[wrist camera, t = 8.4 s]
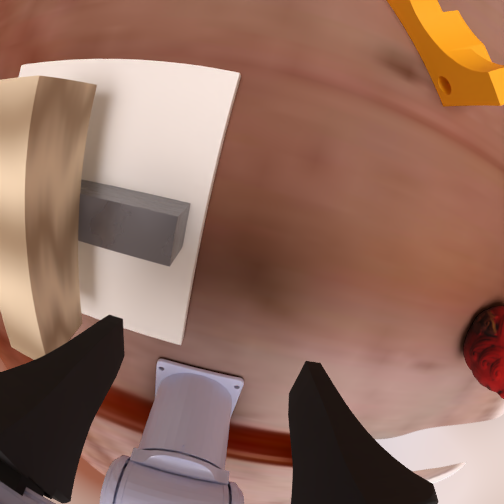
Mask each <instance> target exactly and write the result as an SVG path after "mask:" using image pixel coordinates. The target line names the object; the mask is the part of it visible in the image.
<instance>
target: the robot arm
mask: <svg viewBox="0 0 504 504" xmlns="http://www.w3.org/2000/svg"><path fill="white" fill-rule="evenodd" d="M123 358H124V337H123V319H122V318H119V317H115V316H112V315H108V316H106V317H105V318H103V319H102V320H100V321H99V322H97V323H96V324H94V325H93V326H91V327H90V328H88V329H87V330H85V331H84V332H82V333H81V334H79V335H78V336H76V337H75V338H73V339H72V340H70V341H68V342H67V343H65V344H63V345H62V346H60V347H58V348H57V349H55V350H53V351H51V352H50V353H48V354H46V355H44V356H42V357H40V358H37V359H35V360H33V361H31V362H29V363H26V364H23V365H21V366H18V367H15V368H12V369H9V370H6V371H3V372H0V504H55V503H53V502H51V501H50V500H48V499H46V498H44V497H43V495H44V496H46V497H48V498H50V499H52V498H53V499H55V500H57V501H59V502H61V503H67V502H69V501H71V494H72V489H73V484H74V479H75V475H76V470H77V467H78V463H79V459H80V456H81V453H82V449H83V446H84V443H85V440H86V437H87V434H88V432H89V429H90V426H91V424H92V421H93V419H94V417H95V415H96V413H97V411H98V409H99V407H100V406H101V404H102V402H103V400H104V398H105V396H106V394H107V393H108V391H109V389H110V387H111V385H112V383H113V382H114V380H115V378H116V376H117V373H118V371H119V368H120V366H121V363H122V361H123ZM162 367H163V368H162ZM236 385H238V386H236ZM243 385H244V380H243V379H242V378H239V377H234V376H229V375H225V374H220V373H216V372H211V371H207V370H203V369H199V368H195V367H191V366H187V365H183V364H180V363H176V362H172V361H169V360H165V359H158V361H157V367H156V385H155V400H154V403H153V406H152V409H151V411H150V414H149V417H148V420H147V423H146V426H145V429H144V432H143V435H142V438H141V441H140V444H139V447H138V448H133V451H132V454H131V457H128V456H126V455H122V456H121V457H119V458H117V459H115V460H114V461H113V462H112V463H111V465H110V467H109V469H108V471H107V474H106V476H105V479H104V482H103V486H102V490H101V496H100V504H244V496H243V493H242V491H241V490H240V488H239V487H238V485H237V484H236V483H234V482H229V471H226V470H225V461H226V452H227V443H228V433H229V424H230V418H231V415H232V413H233V410H234V408H235V405H236V403H237V400H238V398H239V395H240V393H241V390H242V387H243ZM288 417H289V428H290V438H291V449H292V459H293V482H292V498H291V504H437V503H438V499H437V495H436V492H435V489H434V486H433V484H432V483H430V482H429V481H427V480H425V479H423V478H422V477H420V476H418V475H417V474H415V473H414V472H412V471H411V470H409V469H408V468H406V467H405V466H404V465H402V464H401V463H400V462H399V461H397V460H396V459H395V458H394V457H392V456H391V455H390V454H389V453H388V452H387V451H386V450H385V449H384V448H382V447H381V446H380V445H379V444H378V443H377V442H376V441H375V439H374V438H373V437H372V436H371V435H370V434H369V433H368V432H367V431H366V430H365V428H364V427H363V426H362V425H361V424H360V422H359V421H358V420H357V418H356V417H355V416H354V414H353V413H352V412H351V410H350V409H349V407H348V406H347V405H346V403H345V402H344V400H343V399H342V397H341V396H340V394H339V393H338V391H337V389H336V388H335V386H334V385H333V383H332V381H331V380H330V378H329V376H328V375H327V373H326V371H325V370H324V368H323V367H322V365H321V363H316V362H309V361H306V362H305V364H304V366H303V368H302V370H301V372H300V374H299V375H298V377H297V379H296V381H295V383H294V385H293V387H292V389H291V391H290V393H289V411H288Z"/></svg>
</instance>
